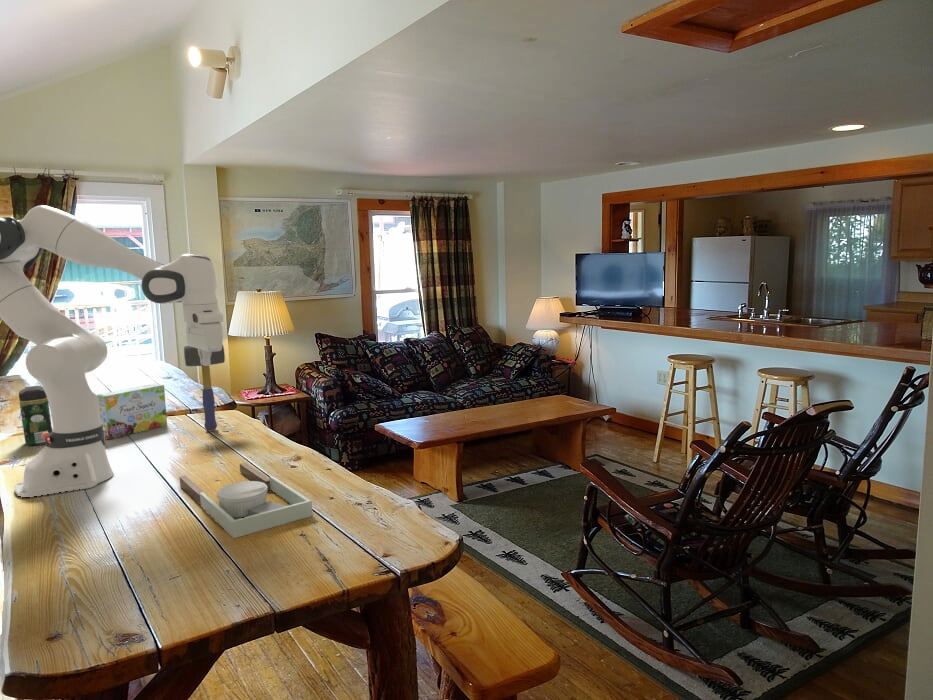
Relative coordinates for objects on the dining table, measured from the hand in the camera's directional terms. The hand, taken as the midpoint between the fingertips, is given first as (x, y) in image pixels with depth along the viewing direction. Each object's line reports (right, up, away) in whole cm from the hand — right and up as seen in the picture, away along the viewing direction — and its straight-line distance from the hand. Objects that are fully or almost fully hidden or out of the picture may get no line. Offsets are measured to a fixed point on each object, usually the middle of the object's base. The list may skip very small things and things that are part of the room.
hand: (205, 365), depth 180 cm
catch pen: (+22, -33, -28) cm, 49 cm away
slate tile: (+27, -34, -32) cm, 53 cm away
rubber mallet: (-16, -24, +45) cm, 53 cm away
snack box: (-43, -24, +47) cm, 68 cm away
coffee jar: (-69, -26, +37) cm, 83 cm away
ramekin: (+20, -33, -28) cm, 47 cm away
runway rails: (+10, -31, -12) cm, 35 cm away
